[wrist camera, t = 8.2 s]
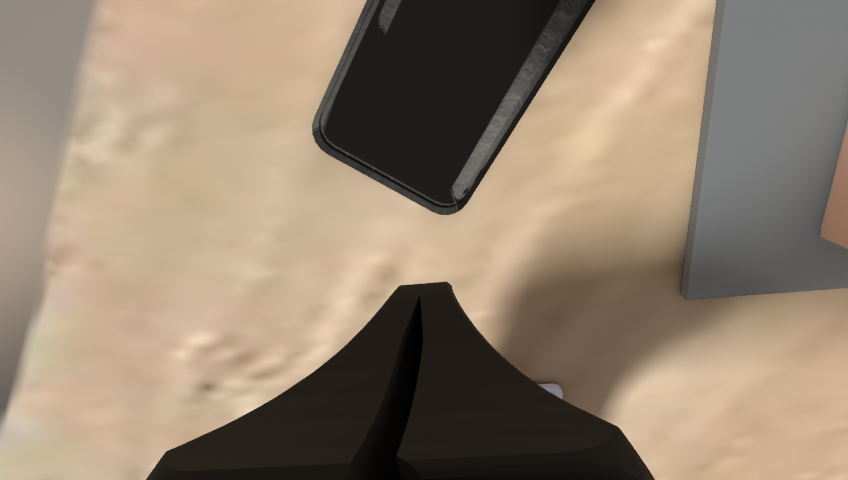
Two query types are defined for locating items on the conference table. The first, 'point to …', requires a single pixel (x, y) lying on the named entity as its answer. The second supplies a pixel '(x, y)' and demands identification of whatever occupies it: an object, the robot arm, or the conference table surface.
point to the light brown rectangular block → (838, 200)
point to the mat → (769, 150)
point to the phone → (439, 89)
